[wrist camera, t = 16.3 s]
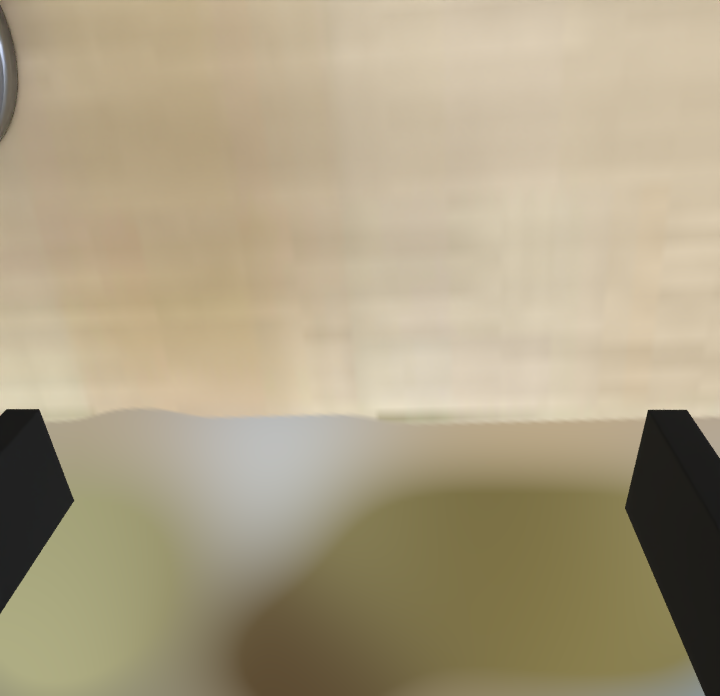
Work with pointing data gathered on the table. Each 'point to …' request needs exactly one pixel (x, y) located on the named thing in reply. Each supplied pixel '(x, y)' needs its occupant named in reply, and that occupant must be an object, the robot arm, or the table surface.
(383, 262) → the table surface
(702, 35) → the table surface
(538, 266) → the table surface
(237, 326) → the table surface
